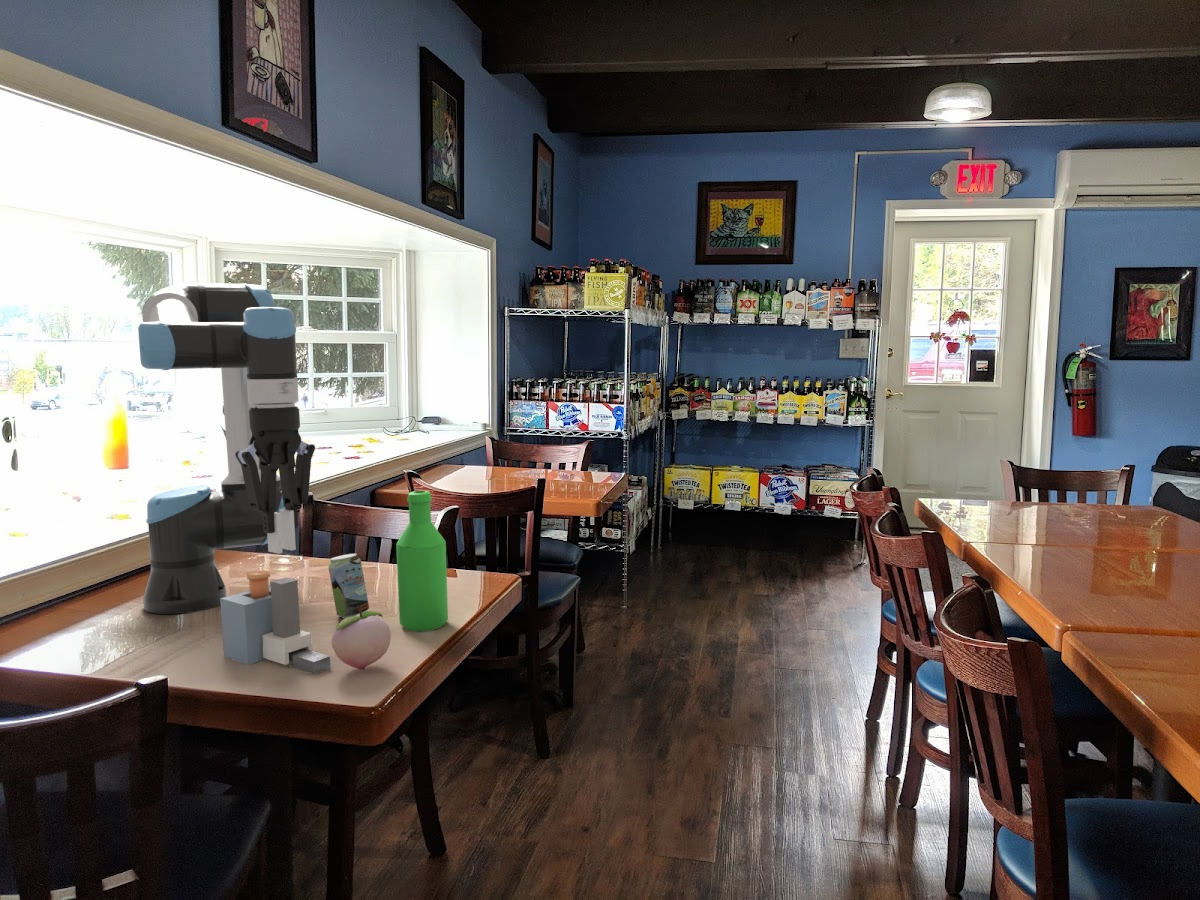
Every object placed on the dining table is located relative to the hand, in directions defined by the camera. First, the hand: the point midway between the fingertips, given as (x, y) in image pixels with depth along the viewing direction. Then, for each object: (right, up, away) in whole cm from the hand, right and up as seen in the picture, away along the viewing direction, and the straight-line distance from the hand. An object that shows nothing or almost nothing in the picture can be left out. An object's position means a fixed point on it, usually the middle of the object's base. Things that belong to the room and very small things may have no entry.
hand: (282, 550), depth 139 cm
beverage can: (+4, -16, +25) cm, 30 cm away
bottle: (+19, -16, +19) cm, 32 cm away
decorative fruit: (+14, -19, -2) cm, 24 cm away
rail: (+3, -19, 0) cm, 19 cm away
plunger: (-6, -9, +5) cm, 12 cm away
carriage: (0, -18, +2) cm, 18 cm away
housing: (-6, -18, +6) cm, 20 cm away
